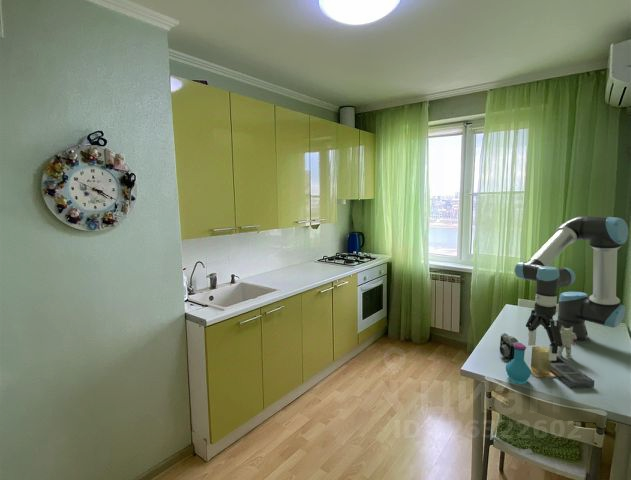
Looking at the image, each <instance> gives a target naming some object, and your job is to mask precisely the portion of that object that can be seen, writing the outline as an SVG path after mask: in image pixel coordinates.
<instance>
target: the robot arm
mask: <svg viewBox="0 0 631 480" xmlns="http://www.w3.org/2000/svg"><path fill="white" fill-rule="evenodd" d="M628 236H629V227H628V223H627V222H626V221H625V220H624V219H623V218H621V217H613V216H596V215H595V216H594V215H593V216H592V215H591V216H590V215H579V216H577V217H573V218H571V219H569V220H566V221H565V222H563V223H562V224H561V225H559V226H558V227H557V228H556V229H555V230H554V234H553V235H552V236H551V237H550V238H549V239H548V241H546V243H544V245H543V246H541V247H540V248H539V249H538V251H537V252H536V253H535V254H534V255H532V257H531V258H530V259H528V260H527V261H526V262H525V261H519V262H517V263H516V264H515V267H514V275H515V277H517V278H519V279H521V280H522V279H523V280H527V281H531V282H536V284H535V287H536V288H535V299H534V302H535V303H534V306H533V307H534V309H531V312H530V315H529V317H528V319H527V322H526V324H525V327H526V328H527V329H528V344H527V345H528V346H536V341H537V328H538V327H539V326H540V325H541V326H542V327H543V328H544V330H546V334H547V336H548V339H549V342H550V344H549V347H548V350H549V358H548V360H550V361H553V360H556V358H557V353H558V347H559V346H563V344H562V339H561V335H560V331H562V330H561V326H563V327H564V328H566V329H568V328H571V327H573V331H572V332H573V333H575V334H576V337H577V339H576V340H577V341H576V342H581V341H583V342H584V341H586V340H588V336H589V334H588V330H587V326H586V321H587V322H590V323H594V324H597V325H599V326H600V325H601V326H604V327H609V328H611V329H613V328H617V327H619V325H621V324H622V321H623V320H624V318H625V315H626V313H627V312H626V311H627V309H626V305H623V304H621V299H620V298H619V297H618V296H617V272H618V271H617V270H618V250H619V249H620V248H621V247H622V245H623V244H625V243H626V242H627V240H628ZM579 240H580V241H581V240H583V241H589V247H590V248H592V249H593V253H592V254H593V259H592V260H593V265H592V266H593V267H592V272H593V274H592V294H591V295H589V296H588V293H585V292H581V291H565V292H561V293H560V294H559V298H558V292H559V288H563V287H568V286H570V285H571V284H573V283H574V282H576V279H577V277H576V274H575V272H574V270H572V269H571V268H569V267H560V268H558V267H555V266H550V265H551V264H552V263H553V262H554V261H555V259H557V257H559V256H560V255H561V254H562V252H564V251H565V249H566V248H567V247H568V246H569V245H572V244H573V243H575V242H576V241H579ZM557 306H558V310H557ZM556 314H557V319H556V320H555V319H554V318H553V317H554V316H555V315H556Z"/></svg>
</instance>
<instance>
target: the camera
mask: <svg viewBox="0 0 631 480" xmlns="http://www.w3.org/2000/svg"><path fill="white" fill-rule="evenodd" d="M516 343H519V344H523V343H522V342H520V341H519V340H518V339H517V338H516V337H514V336H511V335H509V334H507V333H505V332H504V333H501V335H500V343H499V354H500V355H501V356H503V357H505V358H507V359H509V360H510V361H511V360H513V359H514V351H515V349H514V346H513V345H514V344H516Z"/></svg>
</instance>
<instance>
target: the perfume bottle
mask: <svg viewBox="0 0 631 480" xmlns="http://www.w3.org/2000/svg"><path fill="white" fill-rule="evenodd" d="M519 343H520V342H519ZM519 343H516V344H514V345H513V346H514V349H515V351H514V359H513V360H511V359H510V361H509V362H508V363H507V364H505V371H506V373H507V374H506V375H507V376H508V377H507V378H508V380H509V381H510V382H512V383H514V384H518V385H519V384H520V385H525V384H527V383H528V382H527V381H528V380H529V378H530V376H532V374H531V370H530V368H529V367H530V366H529V365H528V363H526V361H525V352H526V349H527V347H526V345H525V344H523V343H522V344H519Z"/></svg>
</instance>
